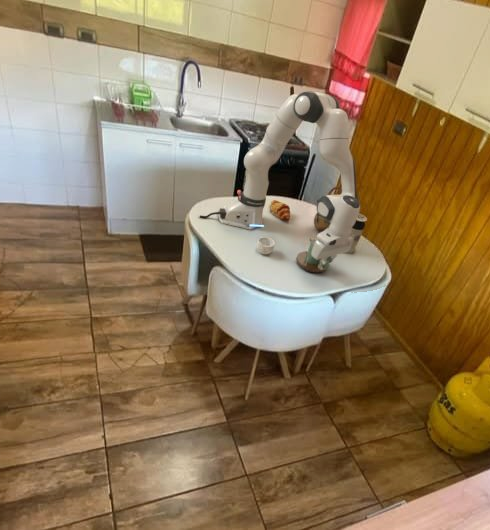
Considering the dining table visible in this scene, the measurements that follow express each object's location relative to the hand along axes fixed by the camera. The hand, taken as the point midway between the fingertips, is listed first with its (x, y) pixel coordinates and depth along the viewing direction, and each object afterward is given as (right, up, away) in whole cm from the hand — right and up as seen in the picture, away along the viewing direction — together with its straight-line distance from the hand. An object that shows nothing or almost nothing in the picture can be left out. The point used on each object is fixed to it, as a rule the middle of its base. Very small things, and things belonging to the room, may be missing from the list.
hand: (326, 262), depth 160 cm
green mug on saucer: (-4, 0, +7) cm, 9 cm away
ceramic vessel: (+6, +17, +37) cm, 41 cm away
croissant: (-15, +27, +44) cm, 53 cm away
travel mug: (+16, +7, +26) cm, 31 cm away
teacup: (-26, +6, +11) cm, 29 cm away
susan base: (-5, -1, +8) cm, 10 cm away
